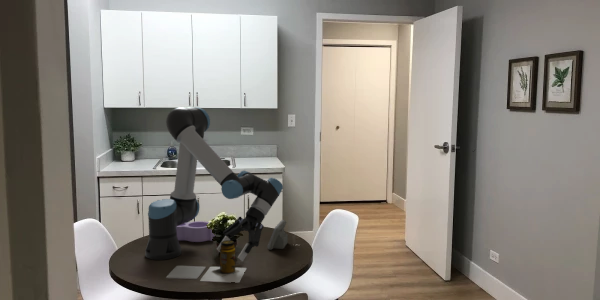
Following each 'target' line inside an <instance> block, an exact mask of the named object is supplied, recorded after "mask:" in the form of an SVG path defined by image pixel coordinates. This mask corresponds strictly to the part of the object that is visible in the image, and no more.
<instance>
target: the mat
mask: <svg viewBox="0 0 600 300" xmlns="http://www.w3.org/2000/svg"><path fill="white" fill-rule="evenodd" d="M206 268H207V267H206V266H197V265H195V266H193V265H176V266H175V267H174V268H173V269H172V270H171V271H170V272H169V273H168V274H167V276H166V277H165V278H166V279H179V280H180V279H182V280H184V279H185V280H198V279H199V278H200V276H201V275H202V274H203V272H204V271H205V270H206Z"/></svg>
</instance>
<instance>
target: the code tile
mask: <svg viewBox="0 0 600 300" xmlns="http://www.w3.org/2000/svg"><path fill="white" fill-rule="evenodd" d="M217 269H220V266H209V268H208V269H207V271H206V272H205V273H204V274H203V276H202V277H201V278H200V280H199V282H211V283H213V282H214V283H231V282H235V283H237V284H240V282H241V279H242V278H243V276H244V275H245V273H244V272H246V271H247V269H248V268H247V267H235V269H236V270H238V271H239V272H236V273H233V274H229V275H226V276H220V275H217V274H215V273H214V272H212V271H213V270H217ZM235 283H234V284H235Z"/></svg>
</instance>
